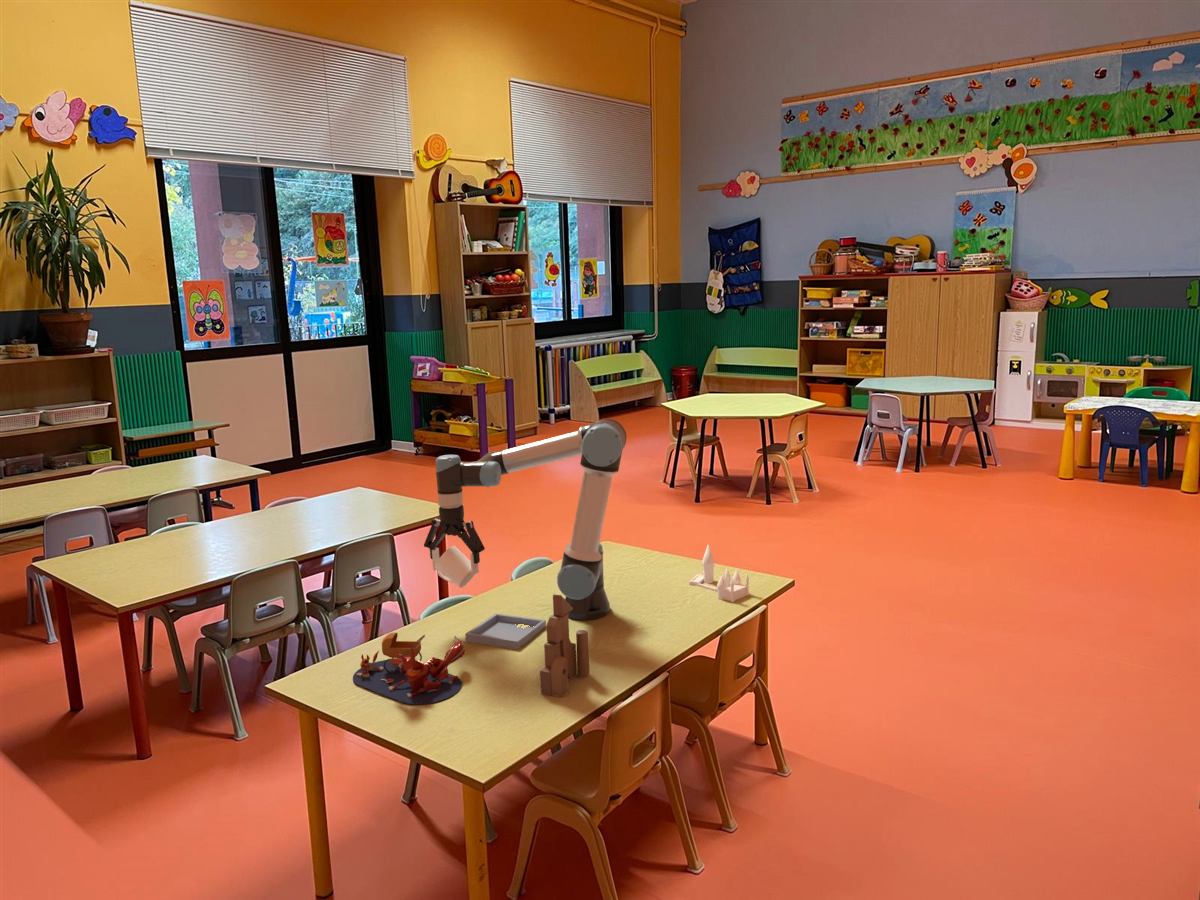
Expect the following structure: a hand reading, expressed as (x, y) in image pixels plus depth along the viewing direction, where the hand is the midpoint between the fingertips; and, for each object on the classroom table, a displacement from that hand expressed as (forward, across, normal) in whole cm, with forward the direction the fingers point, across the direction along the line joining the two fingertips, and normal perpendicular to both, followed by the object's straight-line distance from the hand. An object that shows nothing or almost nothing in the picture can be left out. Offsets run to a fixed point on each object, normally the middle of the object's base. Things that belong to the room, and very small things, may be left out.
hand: (455, 571), depth 276 cm
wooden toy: (+19, -50, +24) cm, 58 cm away
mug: (+3, -4, -1) cm, 5 cm away
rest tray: (+18, -17, 0) cm, 25 cm away
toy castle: (+20, -66, -56) cm, 89 cm away
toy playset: (+19, -8, +34) cm, 40 cm away
